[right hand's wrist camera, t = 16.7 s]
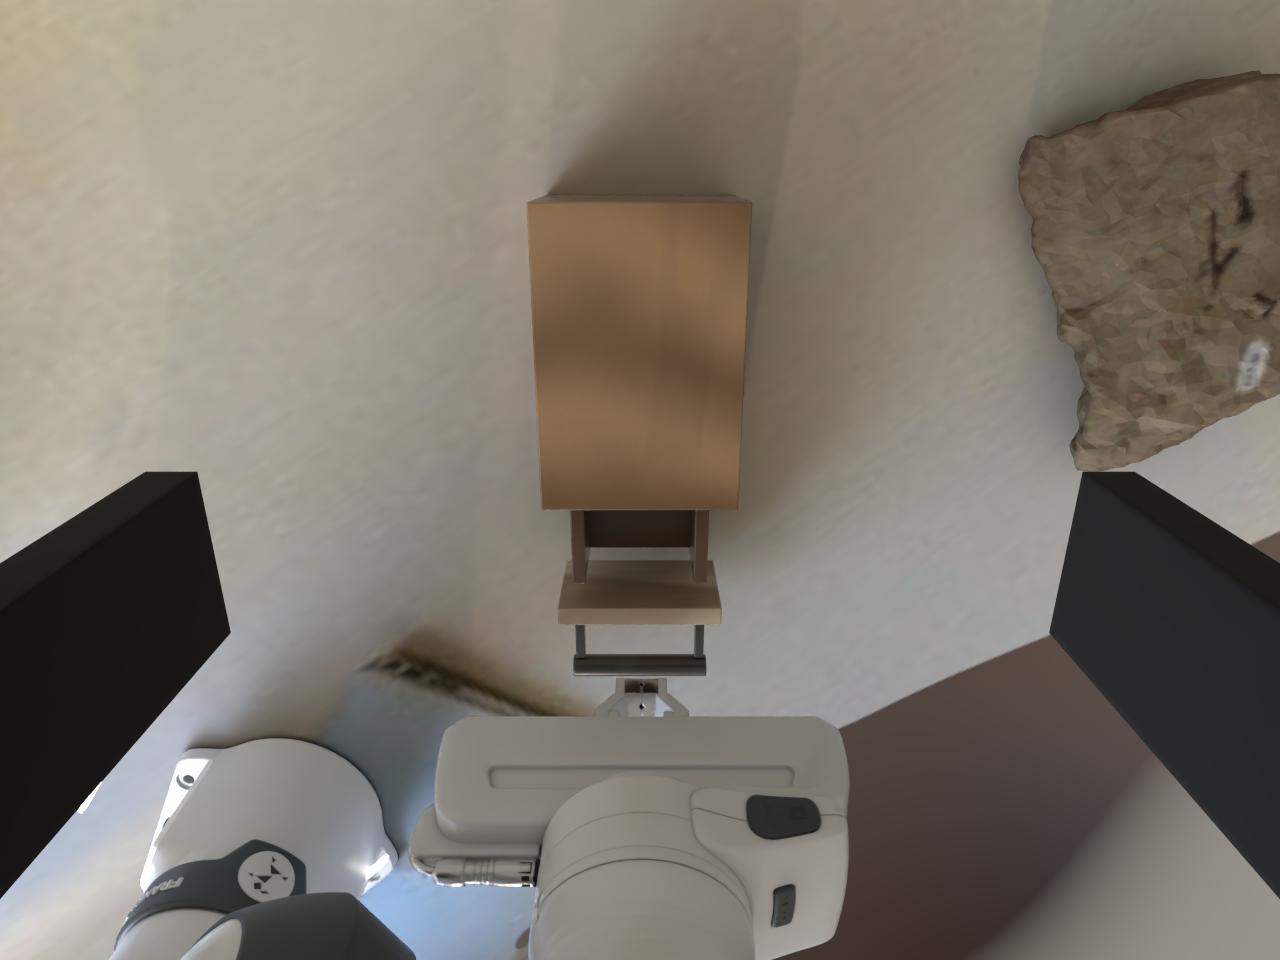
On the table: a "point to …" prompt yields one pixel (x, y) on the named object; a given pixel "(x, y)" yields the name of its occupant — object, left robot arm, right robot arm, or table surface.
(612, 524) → the drawer
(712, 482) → the cabinet
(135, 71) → the table surface
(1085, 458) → the stone
